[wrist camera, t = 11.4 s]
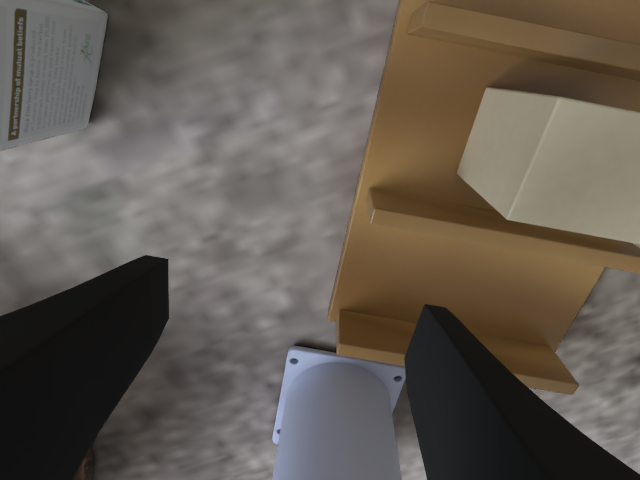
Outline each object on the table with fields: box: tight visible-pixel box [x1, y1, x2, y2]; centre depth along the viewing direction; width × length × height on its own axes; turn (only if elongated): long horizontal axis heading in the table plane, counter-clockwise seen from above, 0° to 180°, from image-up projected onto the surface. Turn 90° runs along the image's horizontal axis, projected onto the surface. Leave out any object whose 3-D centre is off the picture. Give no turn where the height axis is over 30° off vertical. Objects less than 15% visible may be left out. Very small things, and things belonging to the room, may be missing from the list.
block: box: [457, 87, 640, 244], centre depth 14 cm, size 4×5×6 cm
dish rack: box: [328, 0, 640, 395], centre depth 16 cm, size 24×14×4 cm, turn 170°
